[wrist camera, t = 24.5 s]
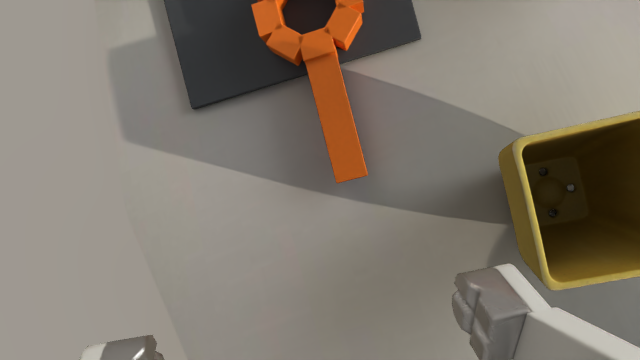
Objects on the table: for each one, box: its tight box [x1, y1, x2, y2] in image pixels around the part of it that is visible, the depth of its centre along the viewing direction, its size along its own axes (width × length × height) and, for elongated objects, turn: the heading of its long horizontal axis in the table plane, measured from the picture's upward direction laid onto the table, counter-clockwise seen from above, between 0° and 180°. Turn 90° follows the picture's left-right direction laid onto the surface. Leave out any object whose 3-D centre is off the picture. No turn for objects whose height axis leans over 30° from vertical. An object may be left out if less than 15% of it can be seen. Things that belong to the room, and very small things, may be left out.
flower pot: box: [498, 111, 640, 290], centre depth 26 cm, size 9×9×9 cm
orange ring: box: [251, 0, 368, 183], centre depth 31 cm, size 8×18×2 cm, turn 15°
